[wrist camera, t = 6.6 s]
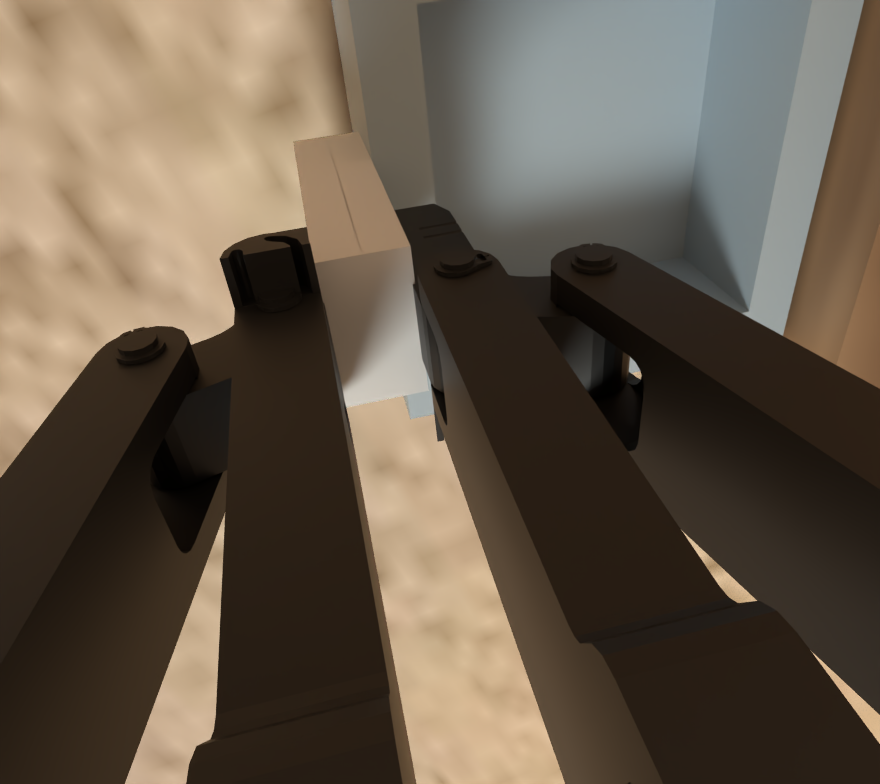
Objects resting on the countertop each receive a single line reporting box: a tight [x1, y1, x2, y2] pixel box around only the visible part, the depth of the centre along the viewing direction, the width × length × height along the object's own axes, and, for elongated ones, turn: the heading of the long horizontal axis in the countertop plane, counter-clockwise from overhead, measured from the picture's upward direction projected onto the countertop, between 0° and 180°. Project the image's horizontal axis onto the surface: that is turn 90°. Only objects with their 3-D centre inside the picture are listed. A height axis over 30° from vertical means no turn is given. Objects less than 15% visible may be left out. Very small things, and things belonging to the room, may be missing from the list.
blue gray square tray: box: [331, 0, 864, 419], centre depth 17 cm, size 10×10×4 cm
